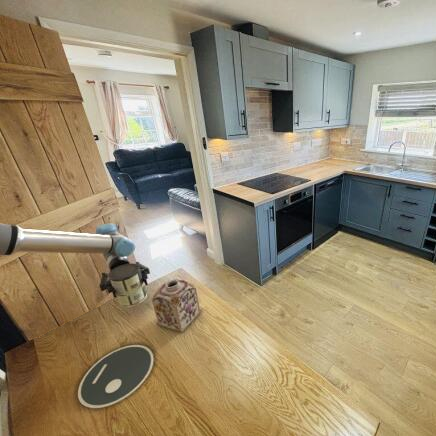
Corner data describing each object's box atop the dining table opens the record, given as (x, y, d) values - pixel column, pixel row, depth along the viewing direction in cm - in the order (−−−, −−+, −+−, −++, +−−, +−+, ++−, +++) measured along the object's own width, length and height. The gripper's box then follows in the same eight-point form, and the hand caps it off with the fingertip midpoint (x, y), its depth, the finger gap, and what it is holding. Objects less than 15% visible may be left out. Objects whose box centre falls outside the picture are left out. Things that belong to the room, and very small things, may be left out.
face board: (60, 412, 66) (59, 410, 66) (105, 347, 85) (104, 346, 84) (135, 406, 68) (134, 404, 68) (163, 344, 86) (163, 342, 86)
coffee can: (130, 289, 104) (121, 262, 98) (152, 291, 103) (145, 264, 97) (111, 306, 94) (101, 277, 89) (136, 309, 93) (126, 280, 88)
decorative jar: (181, 333, 91) (173, 297, 83) (157, 325, 94) (147, 289, 86) (201, 311, 101) (195, 277, 94) (179, 304, 104) (171, 271, 97)
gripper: (148, 261, 116) (163, 283, 101) (89, 281, 101) (97, 310, 87) (144, 248, 113) (160, 268, 98) (84, 266, 98) (91, 294, 84)
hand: (130, 288), depth 93 cm, fingers closed on coffee can, 10 cm apart
